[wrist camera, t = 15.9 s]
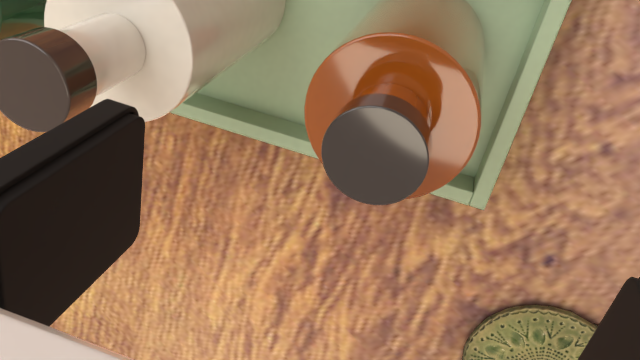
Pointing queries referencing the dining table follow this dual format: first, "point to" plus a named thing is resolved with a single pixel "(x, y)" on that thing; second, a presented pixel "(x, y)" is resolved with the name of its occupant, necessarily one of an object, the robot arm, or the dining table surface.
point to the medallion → (529, 335)
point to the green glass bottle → (20, 16)
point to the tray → (330, 29)
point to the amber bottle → (399, 100)
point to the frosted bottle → (126, 55)
